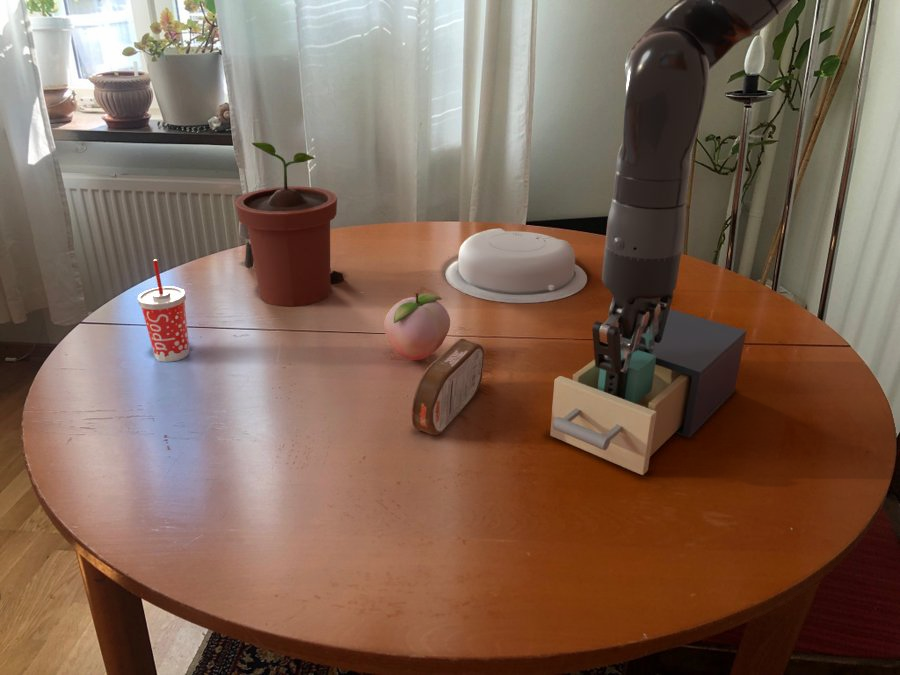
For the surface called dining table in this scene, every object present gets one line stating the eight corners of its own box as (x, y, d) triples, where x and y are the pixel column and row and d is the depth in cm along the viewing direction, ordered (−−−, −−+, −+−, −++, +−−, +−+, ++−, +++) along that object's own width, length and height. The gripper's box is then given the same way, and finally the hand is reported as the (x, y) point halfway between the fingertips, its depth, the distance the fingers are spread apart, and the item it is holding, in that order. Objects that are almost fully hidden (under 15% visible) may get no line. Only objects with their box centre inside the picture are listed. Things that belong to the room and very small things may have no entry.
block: (651, 390, 83) (656, 355, 81) (633, 406, 80) (637, 370, 78) (616, 378, 85) (620, 343, 83) (597, 392, 82) (600, 357, 80)
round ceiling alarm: (416, 277, 130) (415, 244, 127) (501, 242, 147) (502, 212, 144) (533, 316, 115) (535, 279, 113) (613, 272, 133) (617, 239, 130)
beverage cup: (139, 358, 102) (119, 263, 96) (171, 341, 107) (155, 249, 101) (172, 368, 100) (154, 271, 94) (204, 349, 105) (189, 256, 99)
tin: (465, 385, 96) (466, 326, 93) (487, 390, 95) (489, 331, 91) (409, 444, 84) (407, 379, 80) (434, 451, 83) (433, 385, 79)
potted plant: (231, 315, 116) (208, 153, 104) (245, 265, 135) (227, 125, 124) (345, 309, 118) (335, 150, 107) (343, 261, 137) (335, 123, 126)
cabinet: (687, 443, 85) (700, 372, 81) (590, 405, 92) (597, 338, 88) (733, 396, 94) (746, 330, 90) (641, 365, 101) (650, 303, 97)
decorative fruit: (409, 339, 108) (407, 275, 104) (458, 352, 104) (459, 287, 100) (372, 366, 101) (368, 298, 96) (423, 381, 97) (422, 311, 93)
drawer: (623, 495, 75) (631, 433, 71) (528, 452, 81) (532, 394, 78) (692, 425, 86) (702, 370, 83) (604, 392, 93) (610, 340, 90)
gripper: (644, 271, 68) (624, 429, 75) (707, 233, 77) (684, 376, 85) (573, 253, 72) (561, 404, 79) (642, 219, 82) (625, 356, 89)
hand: (625, 389), depth 82 cm, fingers closed on block, 4 cm apart
